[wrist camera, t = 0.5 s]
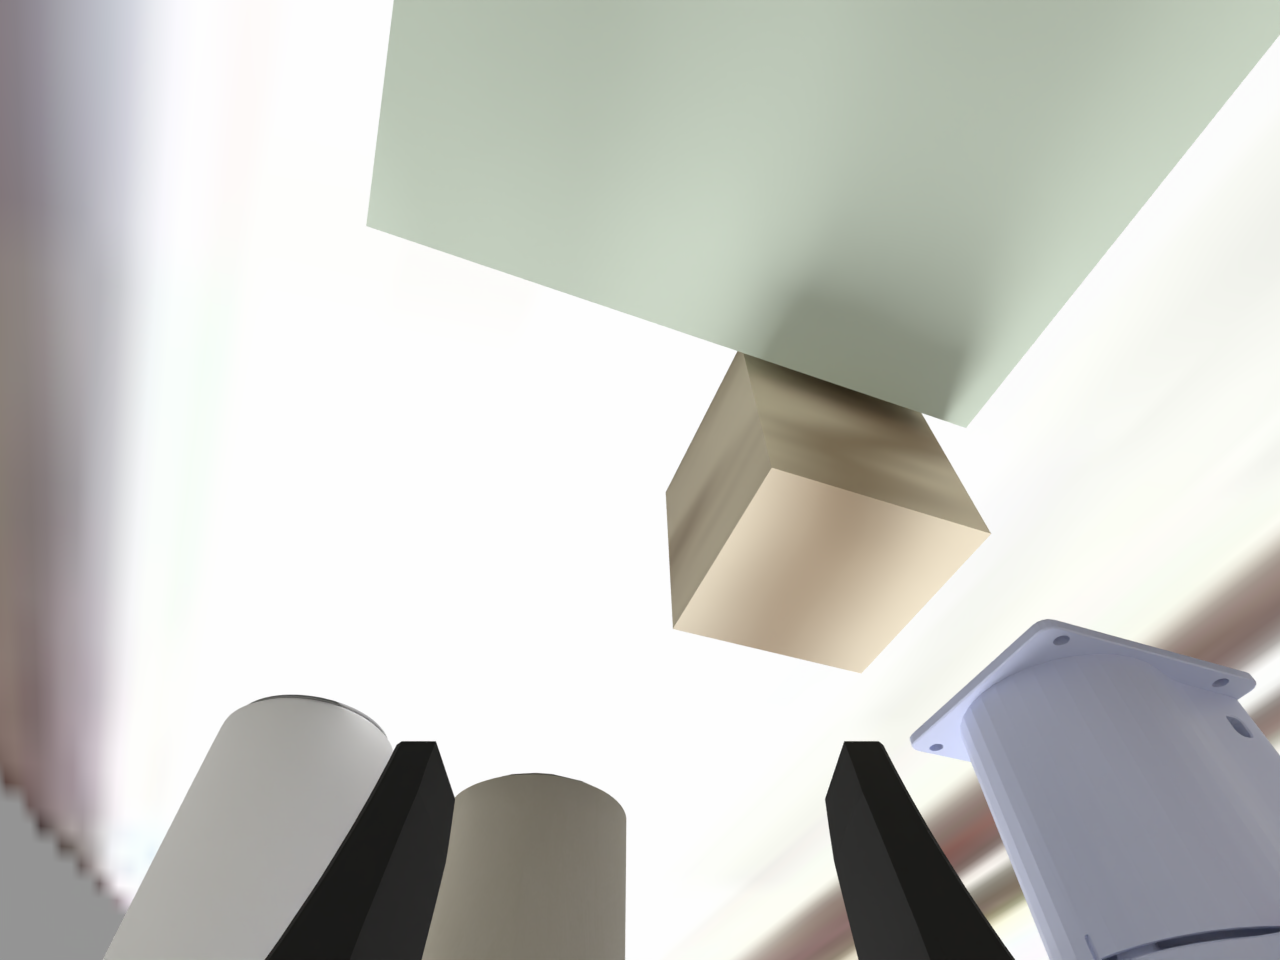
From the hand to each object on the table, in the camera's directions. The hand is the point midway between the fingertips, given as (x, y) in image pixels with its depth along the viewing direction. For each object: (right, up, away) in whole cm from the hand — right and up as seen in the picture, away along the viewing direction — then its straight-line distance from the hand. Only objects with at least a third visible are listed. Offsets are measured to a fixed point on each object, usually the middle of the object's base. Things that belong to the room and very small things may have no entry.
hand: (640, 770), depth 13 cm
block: (+4, +6, +6) cm, 10 cm away
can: (-13, -5, +15) cm, 21 cm away
